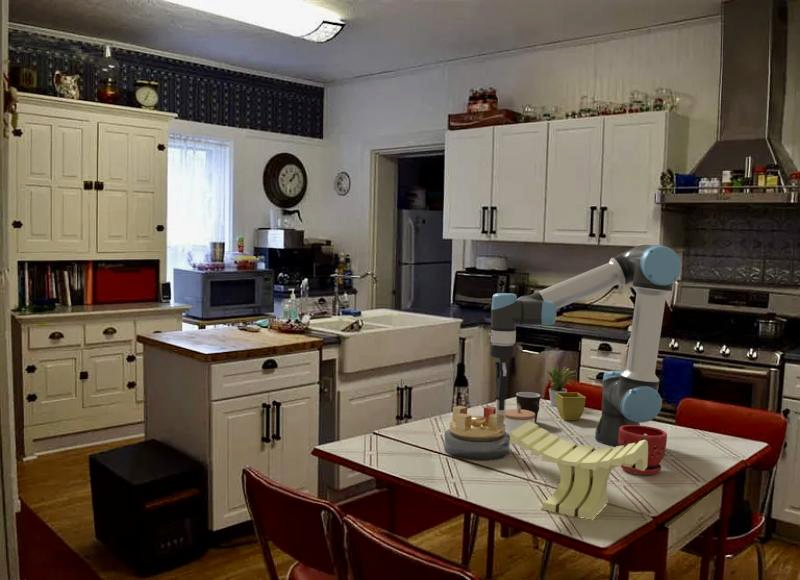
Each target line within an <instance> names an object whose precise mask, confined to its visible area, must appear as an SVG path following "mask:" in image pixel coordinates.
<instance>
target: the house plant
mask: <svg viewBox="0 0 800 580" xmlns="http://www.w3.org/2000/svg"><path fill="white" fill-rule="evenodd" d="M566 367H567V365H565V366H563V368H562V370H561V371H560V370H559V366H558V364H556V367H554V366H552V368H551V369H552V370H548V369H546V371H547V374H548V375H549V376H550V378H551V380H550V379H548V378H543V380H545V381H548V382H549V383H550V388H549V389H548V392H549V399H550V406H552V407H557V404H556V393H568V390H567V388H564V387H566V385H569V386H572V383H573V384H574V382H573V380H572V379H569V378H570V377H576V376H577V375H578V374H577V375H576V374H575V375H573V373H575V370H573V371H569V369H570V367H569V368H566ZM555 368H556V369H555ZM567 378H568V379H567Z"/></svg>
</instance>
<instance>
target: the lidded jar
mask: <svg viewBox="0 0 800 580" xmlns="http://www.w3.org/2000/svg"><path fill="white" fill-rule="evenodd" d="M527 422H532V423H535V413H534V412H532V411H528V410H522V409H521V408H518V409H517V408H511V409H505V420H504V424H505V432H506V433H508V434H509V436H510V432H512V431H513V430H515V429H517V428H519V427H520V426H522V425H524V424H525V423H527Z"/></svg>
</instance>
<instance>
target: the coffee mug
mask: <svg viewBox="0 0 800 580" xmlns="http://www.w3.org/2000/svg"><path fill="white" fill-rule="evenodd" d="M515 395H516V396H515V398H516V409H518V408H521V409H522V410H528V411H532V412H534V413H535V424H537V421H538V420H537V419H538V415H539V414H538V413H539V411H540V401H541V394H539V393H536V392H533V391H532V392H530V391H521V392H520V391H519V392H517V393H515Z"/></svg>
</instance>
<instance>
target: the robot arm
mask: <svg viewBox="0 0 800 580" xmlns="http://www.w3.org/2000/svg"><path fill="white" fill-rule="evenodd" d="M681 271H682V261H681V258H680V256H679V255H678V254H677V253H676V251H675V250H674V249H672V248H670V247H668V246H665V245H661V244H642V245H641V244H640V245H637V246H635V247H632V248H631V249H629V250H626V251H625V252H622V253H619V254H618V255H615V256H613V257H611V258H610V259H609V262H608V263H605V264H602V265H600V266H597V267H595V268H592V269H590V270H587V271H585V272H582V273H580V274H578V275H576V276H573V277H570V278H568V279H565V280H563V281H561V282H558V283H556V284H553V285H551V286H548V287H546V288H544V289H541V290H539V291H537V292H534V293H532V294H530V295H529V294H528V295H522V296H520V297H518V296H517V294H515V293H508V292H507V293H506V292H504V293H503V292H499V293H498V292H497V293H494V294H493V295H492V298H491V308H490V309H491V310H490V313H491V315H490V320H491V321H490V331H491V332H489V333H488V336H489V337H490V343H491V344H490V347H489V355H490V357H492V358H496V361H494V367H495V368H494V369H495V394H494V395H495V397H494V400H495V407H496V414H499V415H503V416H504V420H505V410H506V400H507V398H508V387H509V385H508V384H509V376H510V363H509V362H508V359H511V358H512V359H513V358H515V355H516V346H515V344H516V340H517V339H516V336H517V334H516V333H517V329H516V327H517V326H522V325H523V326H542V327H545V326H553V325H555V322H556V320H557V309H561V308H562V307H566V306H569V305H570V304H573V303H575V302H578V301H580V300H582V299H585V298H587V297H590V296H592V295H594V294H597V293H600V292H602V291H605V290H607V289H610V288H612V287H615V286H617V285H619V286H625V285H628V284H631V283H632V289H633V290H634V292H635V293H636V295H635V303H634V307H633V309H634V310H633V316H632V324H631V328H630V329H631V331H630V337H629V338H630V339H629V344H628V345H629V346H628V352H627V359H626V366H625V369H624V370H622V371H621V370H607V371H605V372H604V374H603V377H602V380H601V381H602V395H601V397H602V398H601V415H600V419H599V421H598V424H597V427H596V429H595V432H594V436H595V437H594V438H595V440H596V441H597V442H599V443H602V444H604V445H609V446H615V447H616V446H619V443H618V437H619V428H620V427H621V426H625V425H640V426H641V424H642V423H648V422H650V421H652V420H653V419H655V418H657V416H658V415H659V413H660V411H661V409H662V405H663V402H662V397H661V395H660V393H659V392H658V391H659V384H660V378H659V377H658V376H657V375H656V367H657V361H658V355H659V347H660V340H661V333H662V327H663V326H662V325H663V318H664V314H665V313H664V312H665V304H666V298H667V296H669V295H670V294H672V292H673V286H674V282H675V281H677V279H678V278H679V277H680V275H681ZM517 297H518V298H517ZM640 423H641V424H640Z"/></svg>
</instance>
